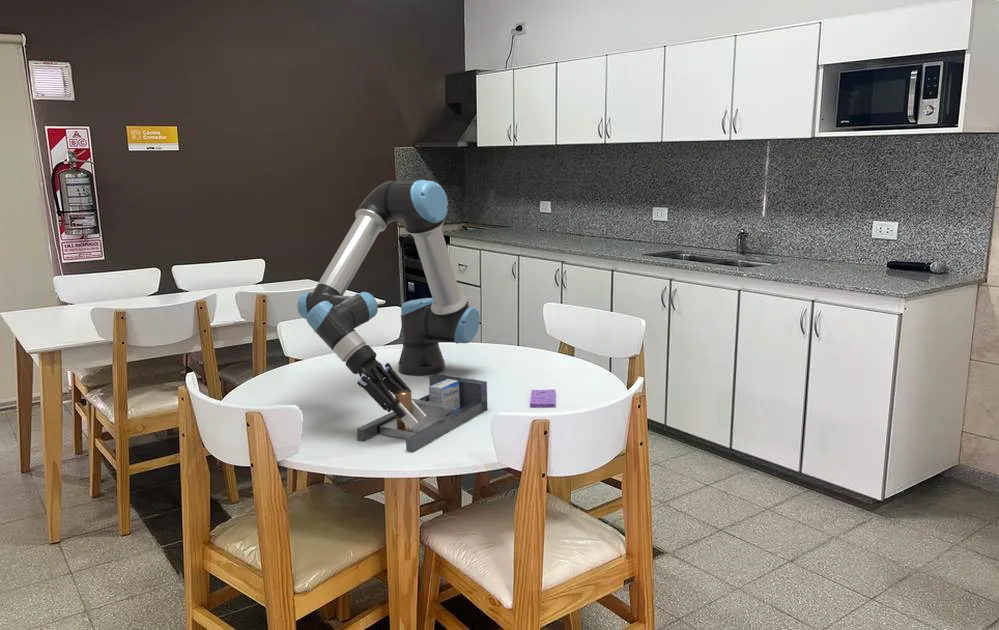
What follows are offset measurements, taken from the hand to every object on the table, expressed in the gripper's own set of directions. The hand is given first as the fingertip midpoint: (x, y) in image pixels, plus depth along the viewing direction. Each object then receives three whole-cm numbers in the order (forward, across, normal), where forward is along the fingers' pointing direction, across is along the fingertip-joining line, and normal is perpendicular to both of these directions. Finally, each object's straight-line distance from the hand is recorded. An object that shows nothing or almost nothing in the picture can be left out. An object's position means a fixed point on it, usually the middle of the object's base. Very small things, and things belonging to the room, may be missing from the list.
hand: (418, 422), depth 187 cm
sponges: (+18, -36, +12) cm, 42 cm away
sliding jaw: (0, -5, -5) cm, 6 cm away
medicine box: (+2, -18, -3) cm, 18 cm away
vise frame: (+1, -9, -4) cm, 10 cm away
